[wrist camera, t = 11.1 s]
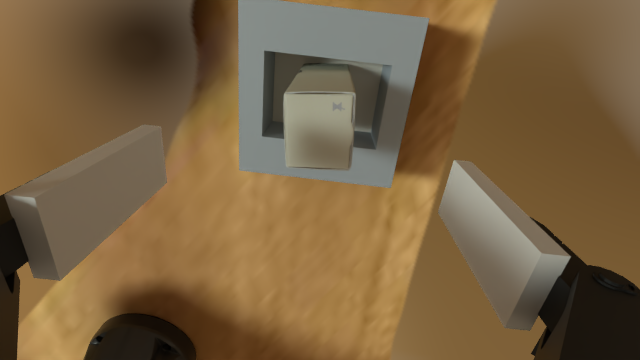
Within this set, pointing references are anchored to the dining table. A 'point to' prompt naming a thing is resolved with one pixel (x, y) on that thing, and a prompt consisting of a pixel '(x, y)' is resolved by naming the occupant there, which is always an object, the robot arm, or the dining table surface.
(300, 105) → the box
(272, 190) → the dining table surface
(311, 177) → the socket
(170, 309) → the dining table surface
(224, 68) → the dining table surface
